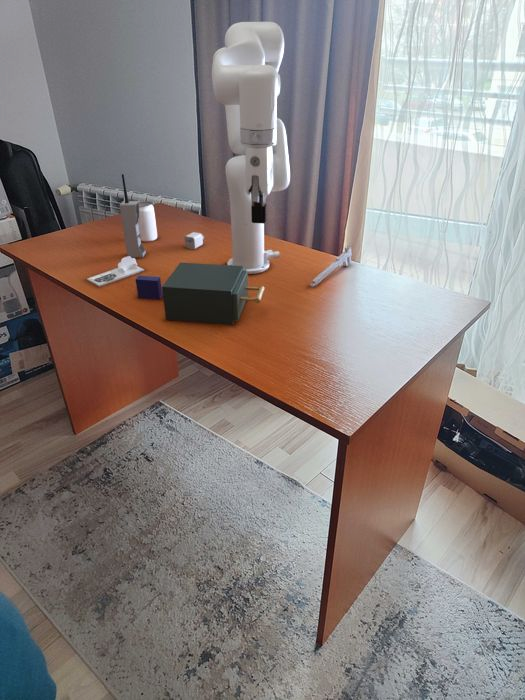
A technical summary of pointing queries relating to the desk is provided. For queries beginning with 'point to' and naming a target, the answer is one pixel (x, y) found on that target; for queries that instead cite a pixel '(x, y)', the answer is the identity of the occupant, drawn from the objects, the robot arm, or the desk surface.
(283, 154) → the robot arm
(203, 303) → the cabinet
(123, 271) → the car cutout
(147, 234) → the can
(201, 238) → the usb wall charger
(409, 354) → the desk surface
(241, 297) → the drawer
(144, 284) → the card deck
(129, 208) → the vintage mobile phone
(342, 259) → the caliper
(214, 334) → the desk surface
